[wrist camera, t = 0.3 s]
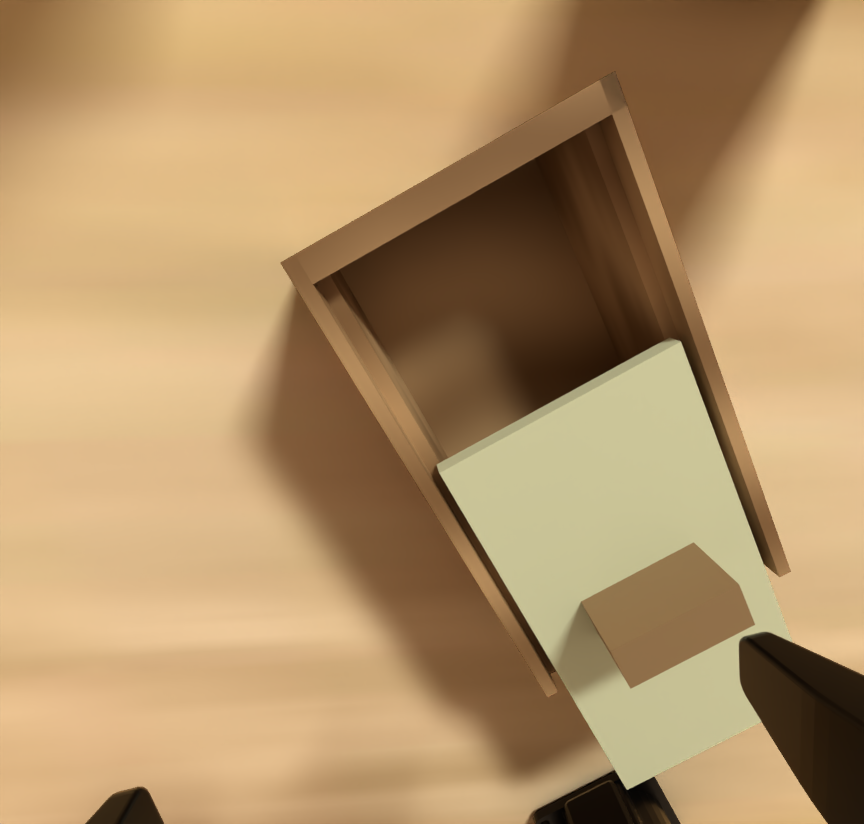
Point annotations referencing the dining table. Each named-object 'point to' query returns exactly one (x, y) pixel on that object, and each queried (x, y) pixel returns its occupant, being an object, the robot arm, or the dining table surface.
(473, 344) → the box
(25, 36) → the dining table surface
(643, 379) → the lid
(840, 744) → the robot arm
